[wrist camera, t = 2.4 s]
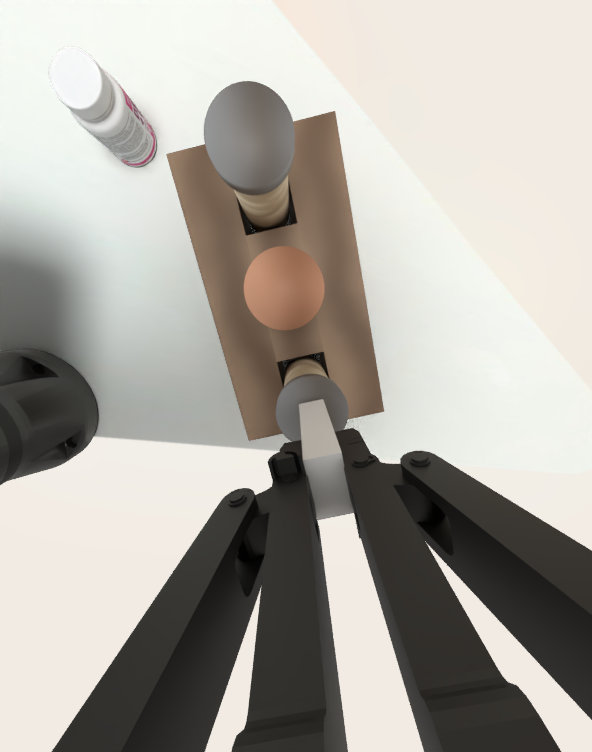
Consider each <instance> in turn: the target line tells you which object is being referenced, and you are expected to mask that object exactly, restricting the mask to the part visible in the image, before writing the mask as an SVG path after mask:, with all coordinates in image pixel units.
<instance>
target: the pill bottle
mask: <svg viewBox="0 0 592 752" xmlns="http://www.w3.org/2000/svg"><path fill="white" fill-rule="evenodd" d="M49 78H50V83H51V86H52V88H53V91H54V92H55V94H56V96H57V97H58V98H59V99H60V100H61V102H62V103H64V104H65V105H66V106H67V107H68V108H69V109H70V111H71V113H72V115H73V116H74V118H75V119H76V120H77V122H78V123H79V124H80V125H81V126H82V127H83V128H84V129H86V130H87V131H88V132H89V133H90V134H91V135H92V136H94V137H95V138H96V139H97V140H98V141H99V142H101V143H102V144H103V145H104V146H105V147H106V148H107V149H109V150H110V151H111V152H112V153H113V154H114V155H115V156H116V157H117V158H118V159H120V160H121V161H122V162H124V163H125V164H127V165H130V166H135V167H139V166H143V165H145V164H147V163H148V162H149V161H150V160H151V159H152V158H153V156H154V154H155V151H156V138H155V134H154V131H153V129H152V127H151V126H150V124H149V123H148V122H147V120H146V119H145V118H144V116H143V115H142V114H141V112H140V111H139V110H138V108H137V107H136V106H135V105H134V103H133V102H132V101H131V99H130V98H129V97H128V95H127V94H126V93H125V91H124V90H123V89H122V87H121V86H120V85H119V83H118V82H117V81H116V80H115V79H114V78H113V77H112V76H111V75H110V74H109V73H108V72H106V71H105V70H103V69H102V68H101V67H100V66H99V65H98V64H97V63H96V61H95V60H94V59H93V58H92V57H91V56H90V55H89V54H88V53H86V52H85V51H83V50H82V49H79V48H76V47H65V48H62V49H60V50H59V51H58V52H56V54H55V55H54V56H53V58H52V60H51V62H50V66H49Z"/></svg>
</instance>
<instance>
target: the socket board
mask: <svg viewBox="0 0 592 752" xmlns="http://www.w3.org/2000/svg"><path fill="white" fill-rule="evenodd" d="M293 124H294V131H295V150H294V159H293V164H292V167H291V169H290V171H289V174H288V194H289V213H290V218H291V222H292V225H288V226H284V227H280V228H276V229H272V230H267V231H263V232H259V233H255V234H252V232H251V228H250V224H249V221H248V219H247V217H246V215H245V213H244V211H243V208H242V206H241V204H240V202H239V200H238V198H237V196H236V194H235V192H234V190H233V189H232V188H231V187H230V186H228V185H227V184H226V183H225V182H224V181H223V180H222V178H221V177H220V176H219V174H218V172H217V171H216V169H215V167H214V165H213V163H212V161H211V159H210V157H209V155H208V152H207V149H206V145H205V144H204V145H201V146H197V147H193V148H189V149H185V150H181V151H177V152H173V153H169V154H166V155H167V158H168V162H169V165H170V169H171V172H172V176H173V179H174V183H175V186H176V189H177V193H178V196H179V200H180V203H181V207H182V210H183V214H184V217H185V221H186V224H187V228H188V231H189V235H190V238H191V242H192V245H193V248H194V252H195V255H196V259H197V262H198V266H199V269H200V273H201V276H202V280H203V283H204V287H205V290H206V294H207V297H208V301H209V304H210V307H211V311H212V314H213V318H214V321H215V325H216V328H217V332H218V335H219V339H220V342H221V346H222V349H223V353H224V356H225V360H226V363H227V366H228V370H229V373H230V377H231V380H232V384H233V387H234V391H235V394H236V398H237V401H238V405H239V408H240V412H241V415H242V418H243V422H244V425H245V429H246V432H247V436H248V439H249V441H250V440H255V439H259V438H264V437H269V436H273V435H278V434H282V431H281V430H280V428H279V426H278V423H277V420H276V405H277V400H278V396H279V394H280V392H281V390H282V389H283V387H284V383H285V369H284V365H283V361H284V360H288V359H293V358H297V357H301V356H306V355H310V354H315V353H319V356H320V361H321V366H322V368H323V370H324V371H325V373H326V375H327V377H328V378H329V379H331V380H332V381H334V382H335V383H336V384H337V385H338V387H339V388H340V389H341V391H342V393H343V394H344V396H345V398H346V400H347V404H348V409H349V414H348V419H352V418H356V417H361V416H365V415H370V414H375V413H379V412H384V408H383V402H382V396H381V390H380V383H379V377H378V371H377V365H376V359H375V353H374V347H373V341H372V335H371V328H370V322H369V316H368V310H367V304H366V298H365V292H364V286H363V279H362V273H361V267H360V261H359V255H358V249H357V243H356V237H355V231H354V224H353V218H352V212H351V206H350V200H349V194H348V188H347V182H346V175H345V169H344V163H343V157H342V151H341V145H340V139H339V133H338V126H337V120H336V114H335V111H333V112H329V113H325V114H322V115H318V116H314V117H310V118H306V119H302V120H298V121H294V122H293ZM278 246H289V247H294V248H297V249H300V250H302V251H303V252H305V253H307V254H308V255H309V256H310V257H311V258H312V259H313V260H314V261H315V262H316V263H317V265H318V267H319V268H320V270H321V273H322V275H323V279H324V290H325V291H324V298H323V302H322V305H321V307H320V309H319V311H318V312H317V314H316V315H315V316H314V317H313V319H312V320H310V321H309V322H308V323H307V324H305V325H303V326H301V327H299V328H296V329H293V330H277V329H273V328H270V327H268V326H266V325H264V324H262V323H261V322H260V321H259V320H257V319H256V318H255V317H254V315H253V314H252V313H251V311H250V310H249V308H248V306H247V303H246V300H245V296H244V280H245V276H246V273H247V270H248V268H249V266H250V265H251V263H252V262H253V260H254V259H255V258H256V257H257V256H258V255H260V254H261V253H262V252H264V251H266V250H268V249H270V248H273V247H278Z"/></svg>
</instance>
